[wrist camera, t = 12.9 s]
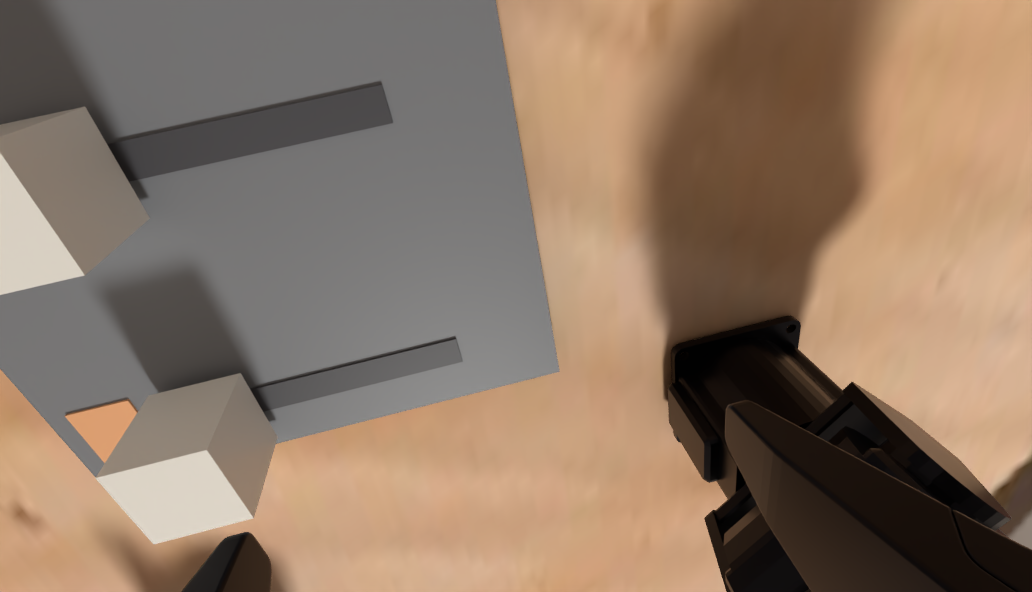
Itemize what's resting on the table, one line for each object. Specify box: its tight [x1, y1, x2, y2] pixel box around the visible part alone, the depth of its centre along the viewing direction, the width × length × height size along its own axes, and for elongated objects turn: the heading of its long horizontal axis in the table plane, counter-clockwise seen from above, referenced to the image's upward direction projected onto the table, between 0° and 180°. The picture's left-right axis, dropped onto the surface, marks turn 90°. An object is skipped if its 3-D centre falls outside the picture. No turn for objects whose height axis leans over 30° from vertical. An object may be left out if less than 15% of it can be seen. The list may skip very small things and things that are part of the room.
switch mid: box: [0, 107, 150, 295], centre depth 14 cm, size 4×4×4 cm
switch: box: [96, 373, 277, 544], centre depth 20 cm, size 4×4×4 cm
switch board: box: [0, 0, 559, 477], centre depth 17 cm, size 20×25×2 cm
